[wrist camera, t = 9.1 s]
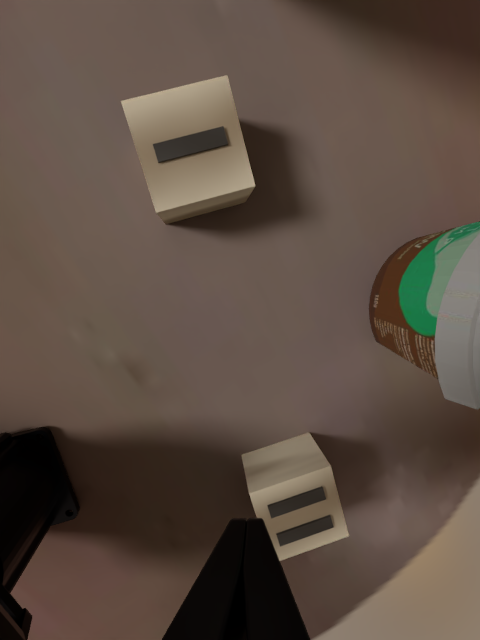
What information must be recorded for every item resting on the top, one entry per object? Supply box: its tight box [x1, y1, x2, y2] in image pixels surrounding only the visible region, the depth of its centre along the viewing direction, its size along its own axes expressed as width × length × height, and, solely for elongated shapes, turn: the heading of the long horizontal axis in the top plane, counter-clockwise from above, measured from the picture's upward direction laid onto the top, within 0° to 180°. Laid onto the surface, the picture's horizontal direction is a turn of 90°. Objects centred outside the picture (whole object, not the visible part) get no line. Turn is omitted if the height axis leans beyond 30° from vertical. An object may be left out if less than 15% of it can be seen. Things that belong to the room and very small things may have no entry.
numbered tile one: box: [121, 75, 255, 224], centre depth 17 cm, size 5×5×4 cm
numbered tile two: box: [241, 432, 349, 561], centre depth 20 cm, size 5×5×4 cm
